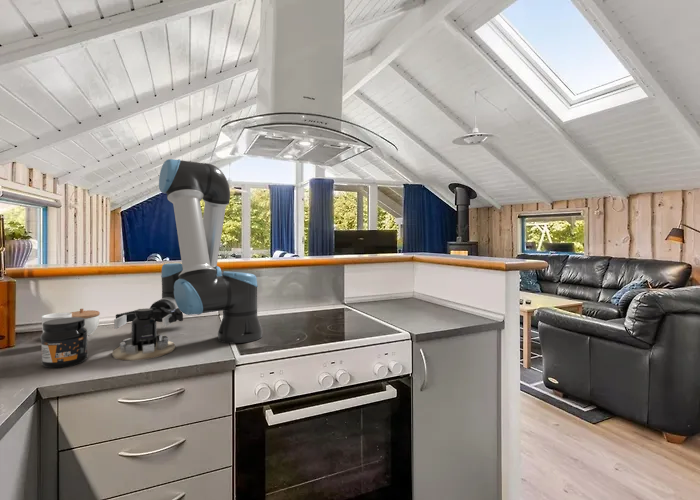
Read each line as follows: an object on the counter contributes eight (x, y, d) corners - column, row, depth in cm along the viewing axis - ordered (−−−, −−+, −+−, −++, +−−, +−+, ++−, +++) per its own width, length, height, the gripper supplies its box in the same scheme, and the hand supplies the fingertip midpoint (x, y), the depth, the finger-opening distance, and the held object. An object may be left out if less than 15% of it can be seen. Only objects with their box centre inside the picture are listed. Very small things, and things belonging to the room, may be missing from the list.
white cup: (78, 343, 125) (77, 313, 125) (51, 350, 118) (50, 318, 118) (64, 340, 129) (63, 311, 128) (36, 347, 122) (36, 316, 121)
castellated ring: (175, 342, 123) (175, 335, 123) (150, 355, 110) (150, 347, 110) (139, 341, 125) (139, 333, 125) (110, 353, 112) (110, 345, 112)
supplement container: (35, 371, 100) (34, 326, 100) (48, 359, 110) (47, 318, 109) (83, 366, 104) (82, 323, 104) (91, 354, 114) (90, 315, 114)
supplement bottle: (145, 351, 114) (145, 312, 113) (126, 350, 115) (125, 311, 115) (161, 345, 120) (161, 308, 120) (143, 344, 122) (142, 307, 121)
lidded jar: (81, 330, 143) (80, 305, 142) (107, 331, 141) (106, 306, 141) (55, 337, 132) (54, 311, 132) (83, 339, 131) (82, 312, 130)
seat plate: (185, 344, 125) (185, 341, 125) (152, 361, 108) (152, 358, 108) (137, 342, 127) (137, 339, 127) (98, 359, 110) (98, 355, 110)
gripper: (200, 318, 137) (183, 334, 116) (126, 320, 133) (95, 337, 112) (200, 298, 137) (183, 310, 116) (126, 299, 133) (94, 312, 112)
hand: (139, 323), depth 114 cm, fingers open, 13 cm apart
